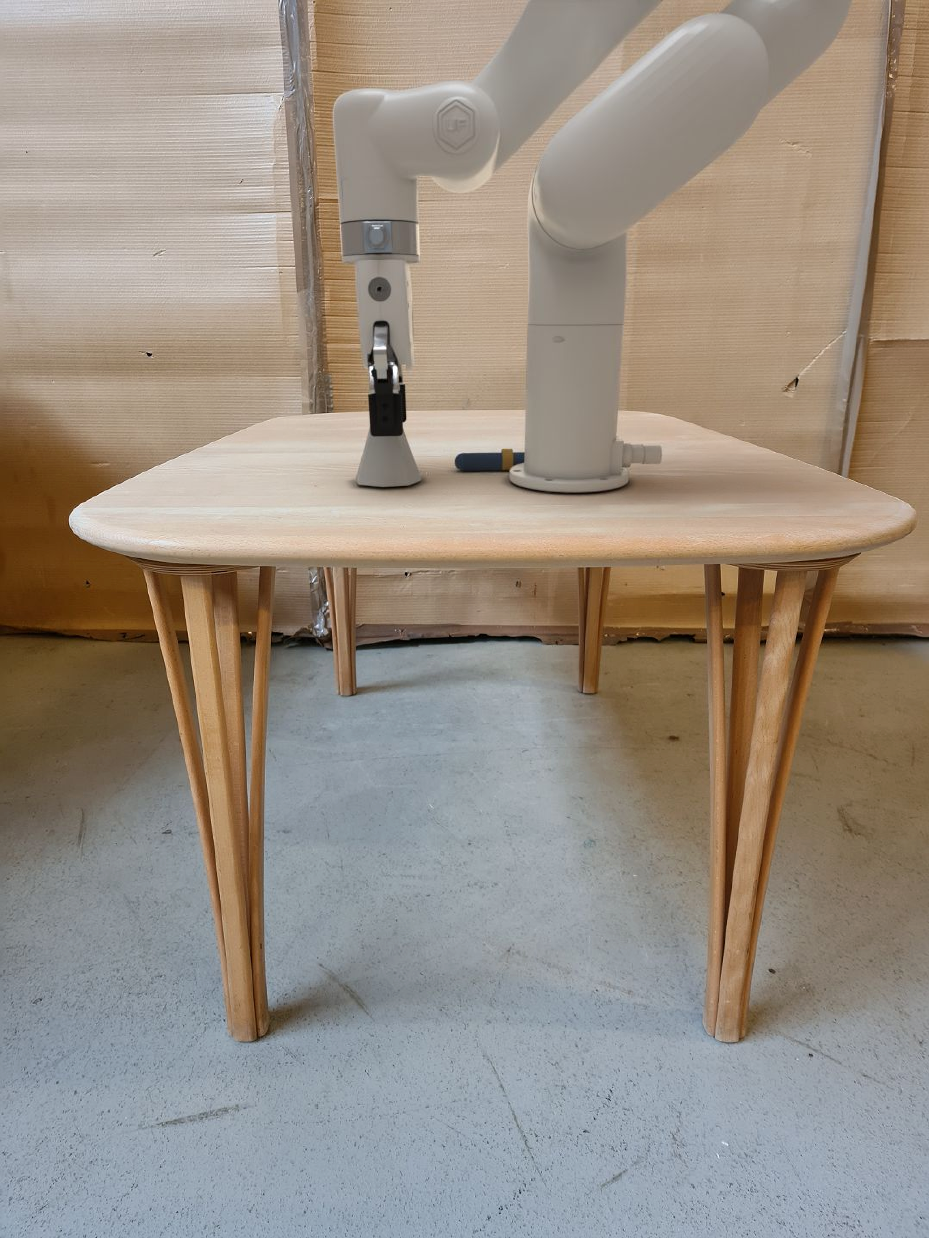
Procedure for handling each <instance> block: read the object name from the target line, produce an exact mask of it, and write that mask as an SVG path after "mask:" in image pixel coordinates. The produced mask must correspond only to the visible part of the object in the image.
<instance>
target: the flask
mask: <svg viewBox="0 0 929 1238" xmlns="http://www.w3.org/2000/svg"><path fill="white" fill-rule="evenodd" d="M399 390H400V385H399ZM422 480H423V479H422V475H421V473H420V471H419V467H418V466H417V462H416V460H415V458H414V455H413V452H412V450H411V446H410V444H409V441H408V438H407V434H406V433H405V429H404V428H403V434H402V435H401V436H379V437H374V436H372V435H371V433H370V427H369V429H368V432H367V436H366V441H365V444H364V448H363V451H362V455H361V458H360V461H359V465H358V468H357V472H356V475H355V481H356V483H357V485H358V486H369V487H378V488H379V487H380V488H389V487H403V486H411V485H413V484H416V483H419V482H421V481H422Z"/></svg>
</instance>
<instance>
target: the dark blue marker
mask: <svg viewBox="0 0 929 1238" xmlns="http://www.w3.org/2000/svg"><path fill="white" fill-rule="evenodd" d="M524 455H525V451H514V449H513V448H502V449H501V451H500V452H461V453H459V454H457V455H456V456H455V458H454V466H455V467H456V469H457V470H458V471H461V472H484V471H486V472H487V471H488V472H489V471H493V472H494V471H510V469H511V468H512V467H513V466H515V465H518V464H521V463H524Z"/></svg>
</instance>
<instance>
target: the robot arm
mask: <svg viewBox="0 0 929 1238" xmlns="http://www.w3.org/2000/svg"><path fill="white" fill-rule="evenodd" d="M663 2H664V0H527V2H526V4H525V6H524V8H523V10H522V12H521V14H520V16H519V18H518V20H516V21H517V22H516V23H515V25H514V27H513V28H512V30H511V31H510V33H509V34H508V36H507V38H506V39H505V41H504V42H503V43H502V45H501V46H500V47H499V49H498V51H496V53H495V54H494V55H493V57H492V58H491V60H489V62H488V63H487V64H486V65H485V67H483V69H482V70H481V71H480V72H479V74H478V75H477V76H475V78H474V79H473V80H472V81H471V82H469V81H464V80H448V81H441V82H440V81H439V82H435V83H431V84H427V85H423V86H419V87H412V88H407V89H402V90H393V89H388V88H378V87H377V88H376V87H367V88H356V89H352V90H348V91H346V92H343V93H342V94H340V95H339V96H338V97H337V98H336V100H335V102H334V105H333V107H332V129H333V143H334V157H335V158H334V159H335V171H336V173H335V174H336V187H337V201H338V203H337V205H338V219H339V224H340V225H339V233H340V235H339V236H340V248H341V262H342V264H343V265H345V264H346V265H347V264H348V265H354V277H355V292H356V296H355V297H356V308H357V309H356V311H357V322H358V323H357V324H358V333H359V343H360V344H359V345H360V353H361V361H362V366H363V368H364V369H365V370H366V371H368V372H369V373H368V374H369V379H368V381H369V384H368V389H369V393H367V399H368V400H367V401H368V415H369V416H368V417H369V428H370V433H371V435H372V436H374V437H379V436H401V435H402V434H403V429H404V423H406V421H407V419H408V418H407V394H406V383H404V371H403V365H405V369H406V371H411V370H412V369H413V368H414V367H415V364H416V359H415V358H416V357H415V335H414V308H413V307H414V306H413V290H412V277H411V269H410V265H412V264H417V263H421V248H420V247H421V246H420V244H421V243H420V214H419V212H420V209H419V184H418V183H419V178H420V177H430V178H431V180H433V181H434V183H436V184H437V186H438V187H440V188H442V189H443V190H445V191H447V192H450V193H455V194H465V193H470V192H473V191H475V190H477V189H479V188H481V187H482V186H483V185H485V184H486V183H487V182H488V181H489V180H490V179H492V177H493V176H494V175H496V173H497V172H498V171H499V170H500V169H501V168H502V167H503V166H505V164H507V162H508V161H510V159H511V158H512V157H513V156H514V155H515V154H516V153H517V152H518V151H519V150H520V149H521V148H522V147H523V146H524V145H525V144H526V143H528V141H529V140H531V138H532V137H533V136H534V135H535V134H536V133H537V132H538V131H539V129H540V128H542V126H544V124H545V123H546V122H547V121H548V120H549V119H550V118H551V117H552V116H553V114H555V112H556V111H558V109H559V108H560V107H561V106H563V104H564V103H565V102H566V101H567V100H568V99H569V98H570V97H571V96H572V95H573V94H574V93H575V92H576V91H577V90H578V89H579V88H581V87H582V86H583V85H584V84H585V83H587V81H588V80H589V79H590V78H591V77H592V76H593V75H594V74H595V73H596V72H597V71H598V69H599V68H600V67H601V66H602V65H603V63H604V62H606V61H607V59H608V58H609V57H610V56H611V55H612V54H613V53H614V52H615V51H616V50H617V49H618V48H619V47H620V46H621V45H622V44H623V43H624V42H625V41H626V40H627V39H628V38H629V37H630V36H631V35H632V34H633V33H634V31H636V30H637V29H638V27H639V26H640V25H641V24H642V23H643V22H644V21H645V20H646V19H647V18H648V16H650V15H651V14H652V12H654V11H655V10H656V9H657V8H658V7H659V6H660V5H661V4H662V3H663ZM852 2H853V0H731V1H730V2H729V3H728V4H727V5H726V6H725V7H723V9H722V10H721V11H719V12H711V13H705V14H701V15H698V16H695V17H693V18H691V19H688V20H687V21H685V22H683V23H682V24H680V25H679V26H677V27H676V28H674V29H673V30H672V31H670V32H669V33H668V34H667V35H666V36H664V37H663V38H662V39H661V40H659V41H658V42H657V43H656V44H655V45H654V46H653V47H651V49H649V50H648V51H647V52H646V53H645V54H644V55H643V56H641V57H640V58H639V59H638V60H637V61H635V62H634V63H633V65H631V66H630V67H629V68H628V69H626V70H625V71H624V72H623V73H622V74H621V75H619V77H617V78H616V79H615V80H614V81H613V82H611V83H610V84H609V85H608V86H607V87H606V88H605V89H604V90H603V91H601V92H600V93H599V94H598V95H596V97H594V98H593V99H592V100H591V101H589V103H587V104H586V105H585V106H584V107H583V108H582V109H580V111H578V112H577V113H576V114H575V115H573V117H572V118H571V119H569V120H568V121H567V122H566V123H565V124H564V125H563V126H561V128H560V129H559V130H558V131H557V132H556V133H555V134H554V136H553V137H552V138H551V139H550V141H549V143H548V144H547V145H546V147H545V149H544V151H543V153H542V155H541V156H540V159H539V161H538V163H537V165H536V167H535V170H534V172H533V175H532V178H531V181H530V185H529V191H528V199H527V216H526V217H527V218H526V219H527V220H526V221H527V224H526V225H527V267H528V268H527V280H528V281H527V321H526V323H527V326H526V327H527V329H526V363H525V365H526V367H525V368H526V371H525V372H526V373H525V408H524V409H525V413H524V415H525V416H524V452H525V455H524V463H521V464H518V465H515V466H513V467H512V468H511V469H510V470H508V472H509V477H508V479H509V481H510V482H511V483H512V484H514V485H515V486H518V487H521V488H525V489H530V490H536V491H541V492H542V491H543V492H550V493H551V492H552V493H553V492H554V493H594V492H596V493H597V492H603V491H610V490H615V489H618V488H621V487H624V486H625V485H627V484H628V482H629V480H630V479H629V476H630V475H629V473H630V472H629V470H628V469H627V468H630V467H631V465H632V464H641V465H660V464H661V462H662V458H663V449H662V446H661V445H660V444H658V445H657V444H655V445H653V444H652V445H651V444H650V445H643V444H641V443H639V444H637V443H636V444H632V443H630V442H625V440H623V439H622V438H621V437H619V436H618V435H617V432H618V420H619V419H618V417H619V405H620V404H619V402H620V388H621V387H620V386H621V373H622V358H623V342H624V329H625V317H626V306H627V305H626V302H627V277H628V273H627V269H628V267H627V266H628V262H627V260H628V259H627V257H628V255H627V254H628V253H627V252H628V251H627V250H628V249H627V248H628V247H627V246H628V244H627V242H628V239H627V237H628V231H629V230H630V229H631V228H633V226H635V225H636V224H637V223H639V222H640V221H641V220H642V219H644V218H645V217H646V216H648V215H649V214H651V212H653V211H654V210H655V209H656V208H658V207H659V206H660V205H661V204H663V203H664V202H665V201H666V200H668V199H669V198H670V197H671V196H673V195H674V194H675V193H676V192H678V191H679V190H680V189H681V188H682V187H684V186H685V185H686V184H687V183H689V182H690V181H692V179H694V178H695V177H696V176H697V175H699V174H700V173H701V172H702V171H704V169H706V168H708V167H709V166H710V165H711V164H713V162H715V161H716V160H717V159H718V158H720V157H721V156H722V155H723V154H725V153H726V152H727V151H728V150H729V149H730V148H732V147H733V146H734V145H735V144H736V143H737V142H738V141H739V140H740V139H742V137H744V135H745V134H746V133H747V132H748V130H750V128H751V127H752V125H753V124H754V122H755V121H756V119H757V117H758V115H759V114H760V113H761V110H763V108H765V107H766V106H767V105H768V104H769V103H771V102H772V101H773V100H774V99H775V98H776V97H777V96H778V95H780V93H782V92H783V91H784V90H785V89H786V88H787V87H788V86H790V85H791V84H792V83H793V82H794V81H795V80H797V79H798V78H799V77H800V76H801V75H802V74H804V72H806V71H807V70H808V69H810V67H811V66H812V65H813V64H814V63H816V61H818V59H819V58H820V57H821V56H822V55H823V54H824V53H825V52H826V51H827V50H828V49H829V48H830V46H831V45H832V44H833V43H834V41H835V39H836V38H837V37H838V34H839V33H840V31H841V29H842V27H843V26H844V24H845V21H846V18H847V16H848V14H849V11H850V8H851V5H852ZM399 385H400V390H399Z"/></svg>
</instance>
